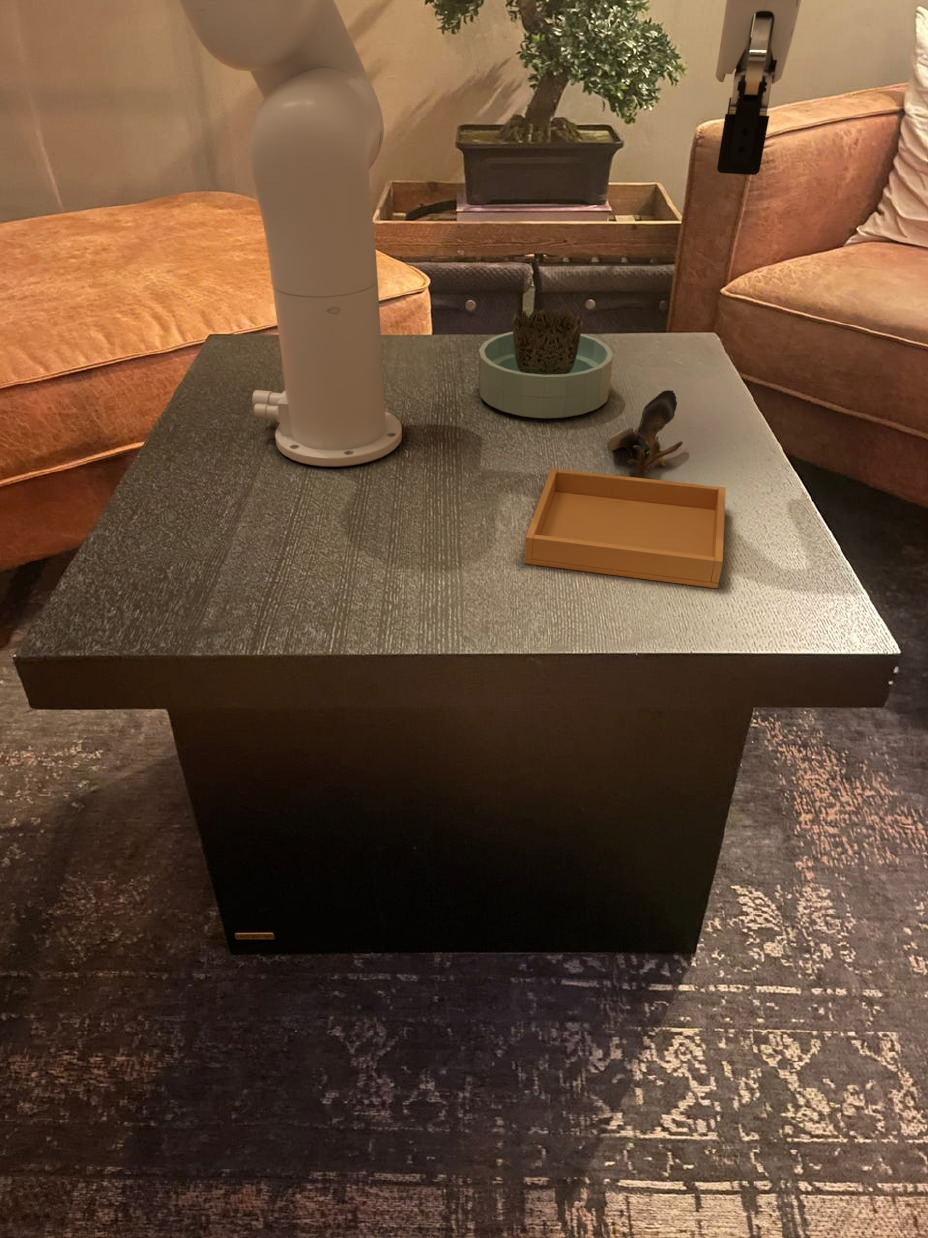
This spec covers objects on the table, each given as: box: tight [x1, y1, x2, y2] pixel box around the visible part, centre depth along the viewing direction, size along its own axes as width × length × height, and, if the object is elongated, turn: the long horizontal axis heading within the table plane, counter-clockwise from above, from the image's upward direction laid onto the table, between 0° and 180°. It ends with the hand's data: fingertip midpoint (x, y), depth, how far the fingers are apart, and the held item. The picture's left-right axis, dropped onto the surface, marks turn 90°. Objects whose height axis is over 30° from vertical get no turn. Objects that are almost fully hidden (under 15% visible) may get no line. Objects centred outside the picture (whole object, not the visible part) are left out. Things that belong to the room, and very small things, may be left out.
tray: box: [524, 467, 727, 589], centre depth 76 cm, size 15×12×2 cm
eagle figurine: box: [606, 389, 684, 478], centre depth 86 cm, size 8×7×9 cm
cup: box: [511, 308, 584, 375], centre depth 99 cm, size 8×7×8 cm
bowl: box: [478, 331, 614, 419], centre depth 100 cm, size 14×14×5 cm
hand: (739, 161), depth 75 cm, fingers open, 9 cm apart
